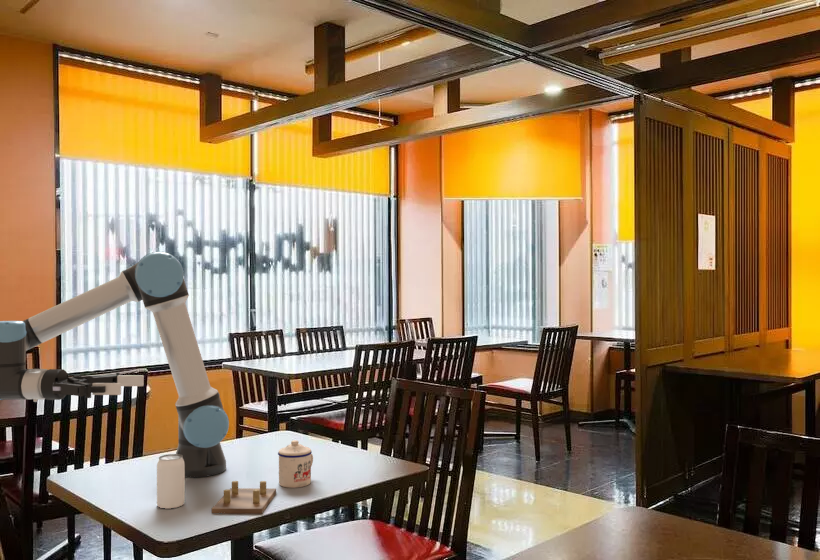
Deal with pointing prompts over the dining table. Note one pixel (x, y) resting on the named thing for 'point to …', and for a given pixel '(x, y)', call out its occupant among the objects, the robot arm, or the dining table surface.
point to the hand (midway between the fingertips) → (132, 384)
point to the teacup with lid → (295, 465)
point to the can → (170, 481)
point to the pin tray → (244, 500)
